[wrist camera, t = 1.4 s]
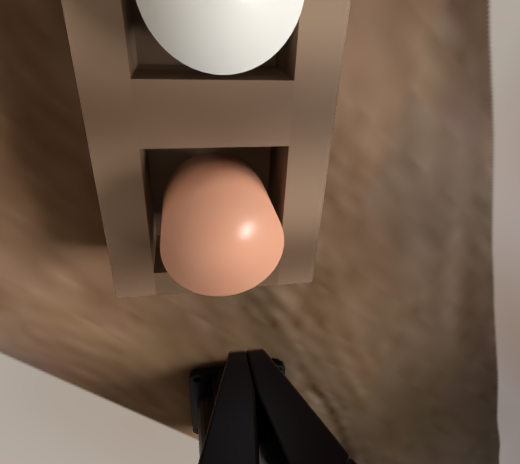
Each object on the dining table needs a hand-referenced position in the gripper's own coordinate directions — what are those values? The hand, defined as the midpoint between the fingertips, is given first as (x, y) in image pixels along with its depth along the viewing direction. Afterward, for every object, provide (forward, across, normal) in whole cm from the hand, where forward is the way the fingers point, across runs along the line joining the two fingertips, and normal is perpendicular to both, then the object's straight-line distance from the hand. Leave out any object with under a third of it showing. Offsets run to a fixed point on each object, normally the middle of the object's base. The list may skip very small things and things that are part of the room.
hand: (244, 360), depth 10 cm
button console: (+12, 0, -4) cm, 12 cm away
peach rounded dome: (+9, 0, 0) cm, 9 cm away
